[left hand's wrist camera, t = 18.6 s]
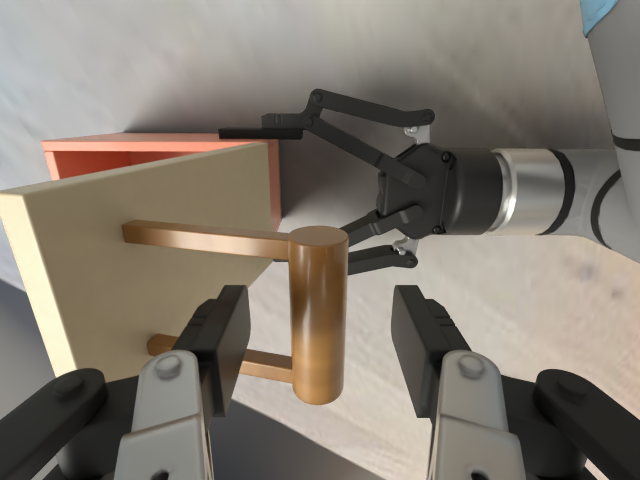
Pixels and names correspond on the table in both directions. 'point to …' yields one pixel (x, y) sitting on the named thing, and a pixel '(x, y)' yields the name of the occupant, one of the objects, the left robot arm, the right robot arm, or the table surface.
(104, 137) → the chest
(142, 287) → the lid
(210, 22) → the table surface
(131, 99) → the table surface
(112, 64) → the table surface
